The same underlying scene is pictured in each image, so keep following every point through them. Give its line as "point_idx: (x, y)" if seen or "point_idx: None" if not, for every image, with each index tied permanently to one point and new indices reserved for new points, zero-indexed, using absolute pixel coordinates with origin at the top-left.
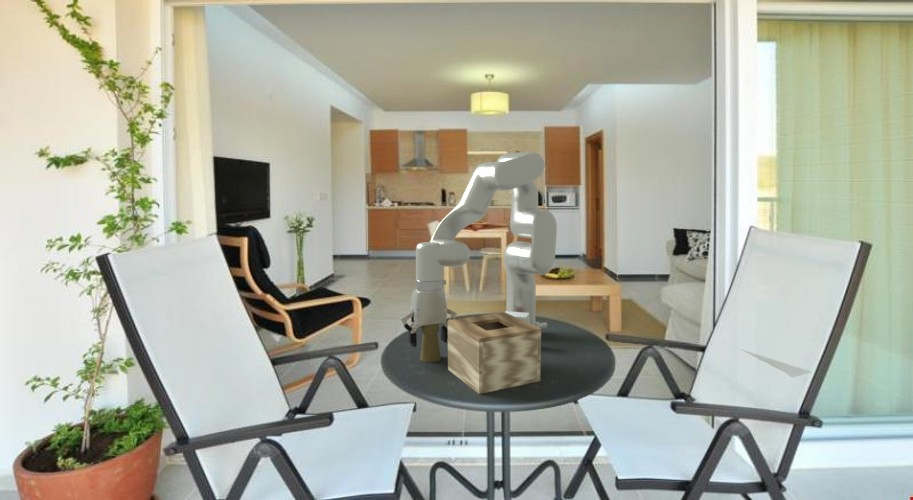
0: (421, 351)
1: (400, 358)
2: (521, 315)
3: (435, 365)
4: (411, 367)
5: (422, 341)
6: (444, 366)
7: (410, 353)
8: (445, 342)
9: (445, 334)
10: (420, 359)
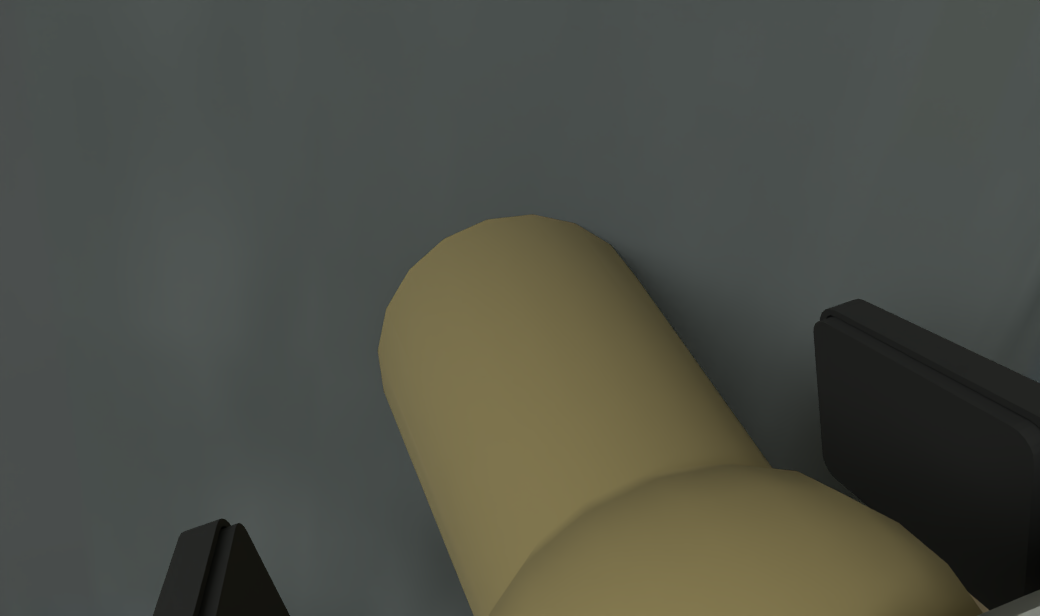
0: (405, 436)
1: (60, 278)
2: None
3: None
4: None
5: (445, 532)
6: None
7: (228, 66)
8: (831, 456)
9: None
10: (381, 373)
